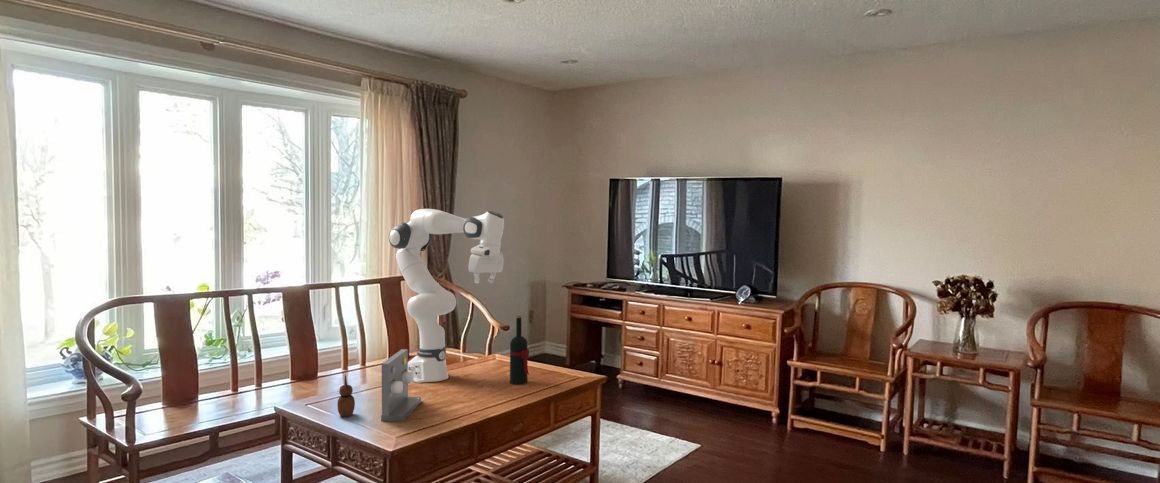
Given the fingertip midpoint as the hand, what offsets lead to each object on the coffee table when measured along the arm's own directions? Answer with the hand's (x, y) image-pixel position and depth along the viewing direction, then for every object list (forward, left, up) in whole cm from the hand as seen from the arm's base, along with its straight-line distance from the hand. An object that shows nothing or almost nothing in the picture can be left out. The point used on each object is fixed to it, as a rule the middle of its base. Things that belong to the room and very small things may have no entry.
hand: (483, 283), depth 276 cm
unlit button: (-5, -44, -37) cm, 58 cm away
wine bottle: (+6, +18, -46) cm, 50 cm away
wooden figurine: (-22, -53, -46) cm, 73 cm away
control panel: (-8, -38, -46) cm, 60 cm away
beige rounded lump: (-12, -32, -37) cm, 50 cm away
